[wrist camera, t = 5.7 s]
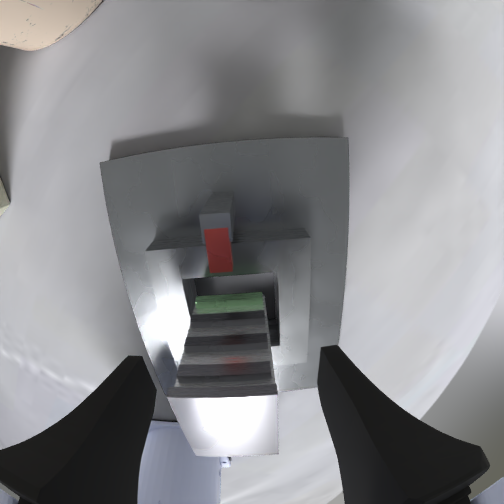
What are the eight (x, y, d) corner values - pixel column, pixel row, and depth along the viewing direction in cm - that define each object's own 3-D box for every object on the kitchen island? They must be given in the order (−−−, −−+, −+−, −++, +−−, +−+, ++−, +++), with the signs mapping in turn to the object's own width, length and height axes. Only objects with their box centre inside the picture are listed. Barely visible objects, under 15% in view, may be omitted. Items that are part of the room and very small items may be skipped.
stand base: (328, 375, 19) (345, 428, 14) (167, 385, 19) (154, 438, 14) (341, 137, 13) (388, 138, 8) (108, 160, 13) (53, 174, 8)
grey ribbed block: (267, 351, 14) (278, 453, 8) (208, 355, 14) (196, 456, 8) (263, 286, 12) (277, 394, 7) (195, 291, 12) (166, 397, 7)
